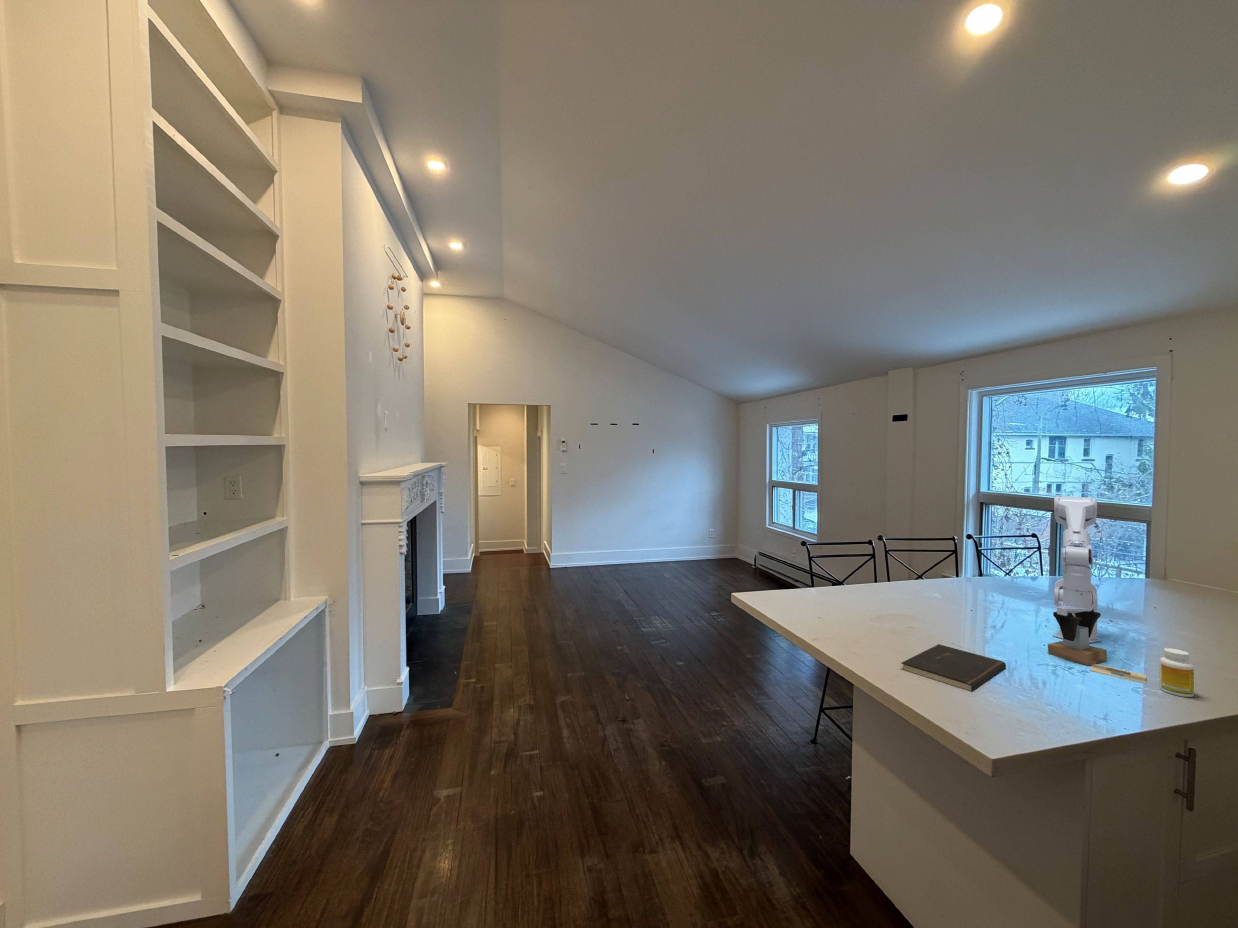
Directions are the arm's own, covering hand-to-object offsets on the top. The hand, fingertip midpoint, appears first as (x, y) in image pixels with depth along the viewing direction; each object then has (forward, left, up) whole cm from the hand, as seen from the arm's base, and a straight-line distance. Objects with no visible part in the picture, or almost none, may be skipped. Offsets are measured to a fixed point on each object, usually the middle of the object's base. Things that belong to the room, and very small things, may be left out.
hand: (1076, 638), depth 137 cm
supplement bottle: (+4, +21, -6) cm, 22 cm away
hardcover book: (+40, -7, -6) cm, 41 cm away
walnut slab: (0, 0, -5) cm, 5 cm away
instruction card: (+3, +10, -5) cm, 12 cm away
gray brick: (0, 0, -2) cm, 2 cm away
